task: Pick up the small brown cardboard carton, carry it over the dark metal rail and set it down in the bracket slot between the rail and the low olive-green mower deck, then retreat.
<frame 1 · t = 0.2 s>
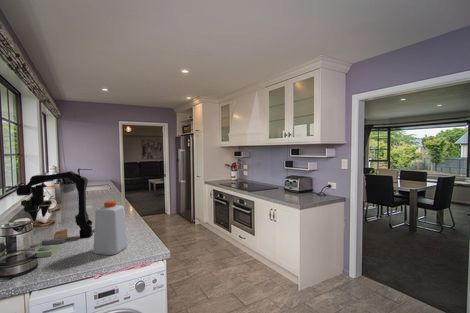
hand: (39, 218, 163), 14 cm above the counter, fingers open, 9 cm apart
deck: (45, 253, 143), on the counter
brown cardboard carton: (60, 240, 164), on the counter
plastic bottle: (111, 250, 147), on the counter
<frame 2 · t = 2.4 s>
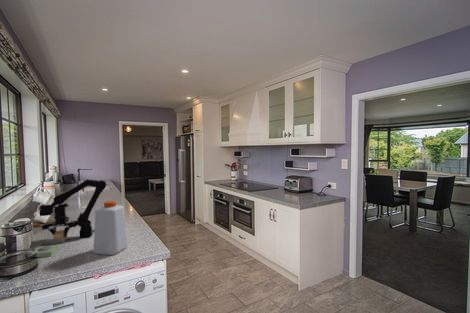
hand: (60, 238, 164), 1 cm above the counter, fingers closed on brown cardboard carton, 5 cm apart
brown cardboard carton: (60, 240, 164), on the counter, touching gripper
everything else where it was.
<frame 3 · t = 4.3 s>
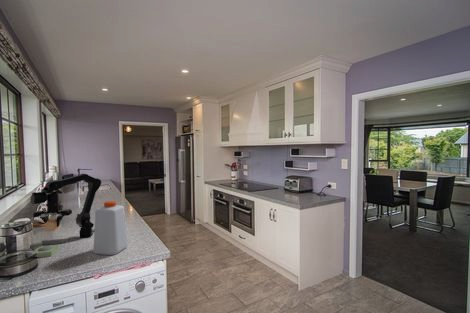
hand: (53, 227, 154), 11 cm above the counter, fingers closed on brown cardboard carton, 5 cm apart
brown cardboard carton: (53, 229, 154), point 10 cm above the counter, touching gripper
everything else where it was.
when the fingers open (3 cm above the counter, at t = 6.4 s): brown cardboard carton drops 2 cm, on the counter.
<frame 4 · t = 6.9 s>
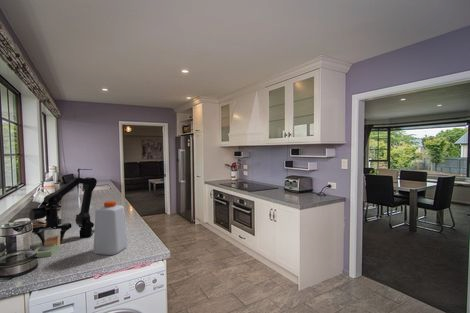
hand: (52, 241, 153), 3 cm above the counter, fingers open, 9 cm apart
brown cardboard carton: (52, 247, 152), on the counter
everything else where it was.
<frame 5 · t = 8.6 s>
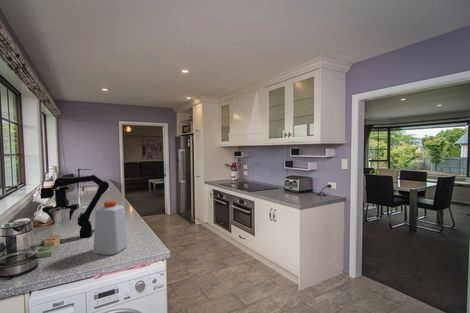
hand: (62, 221, 163), 13 cm above the counter, fingers open, 9 cm apart
nothing on the counter moved.
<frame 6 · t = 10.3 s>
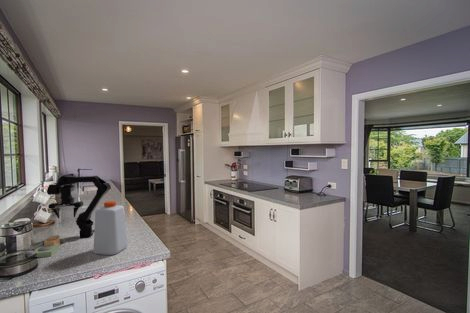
hand: (66, 217, 169), 13 cm above the counter, fingers open, 9 cm apart
nothing on the counter moved.
at the end: brown cardboard carton inside the target area (1.1 cm from its centre), on the counter; brown cardboard carton tilted 0°; the gripper is holding nothing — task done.
